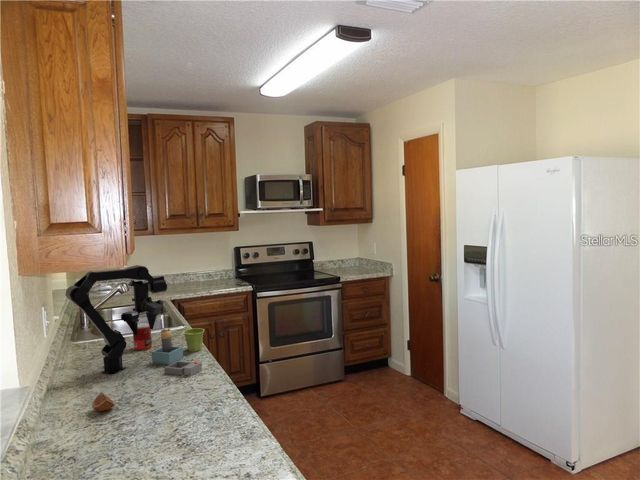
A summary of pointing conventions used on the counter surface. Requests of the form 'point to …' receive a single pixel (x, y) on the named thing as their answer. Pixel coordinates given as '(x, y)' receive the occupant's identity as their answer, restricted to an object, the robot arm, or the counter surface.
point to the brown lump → (102, 402)
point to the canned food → (143, 337)
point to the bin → (167, 356)
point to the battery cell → (166, 340)
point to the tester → (183, 368)
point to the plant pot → (194, 339)
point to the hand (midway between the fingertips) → (144, 332)
